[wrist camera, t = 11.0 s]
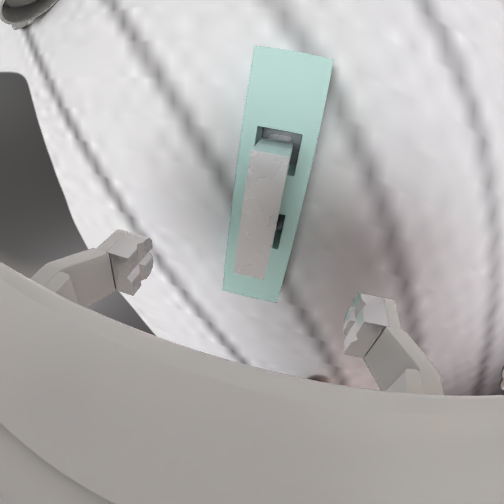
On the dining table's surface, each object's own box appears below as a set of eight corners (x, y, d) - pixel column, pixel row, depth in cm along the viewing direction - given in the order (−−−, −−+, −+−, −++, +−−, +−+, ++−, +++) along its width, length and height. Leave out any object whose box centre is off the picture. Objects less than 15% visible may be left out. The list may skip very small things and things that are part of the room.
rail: (330, 63, 16) (333, 59, 14) (280, 282, 28) (276, 303, 25) (261, 51, 17) (254, 45, 14) (230, 270, 28) (222, 290, 25)
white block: (269, 129, 20) (250, 149, 14) (295, 135, 20) (289, 157, 14) (254, 221, 25) (233, 273, 18) (277, 226, 24) (263, 280, 18)
